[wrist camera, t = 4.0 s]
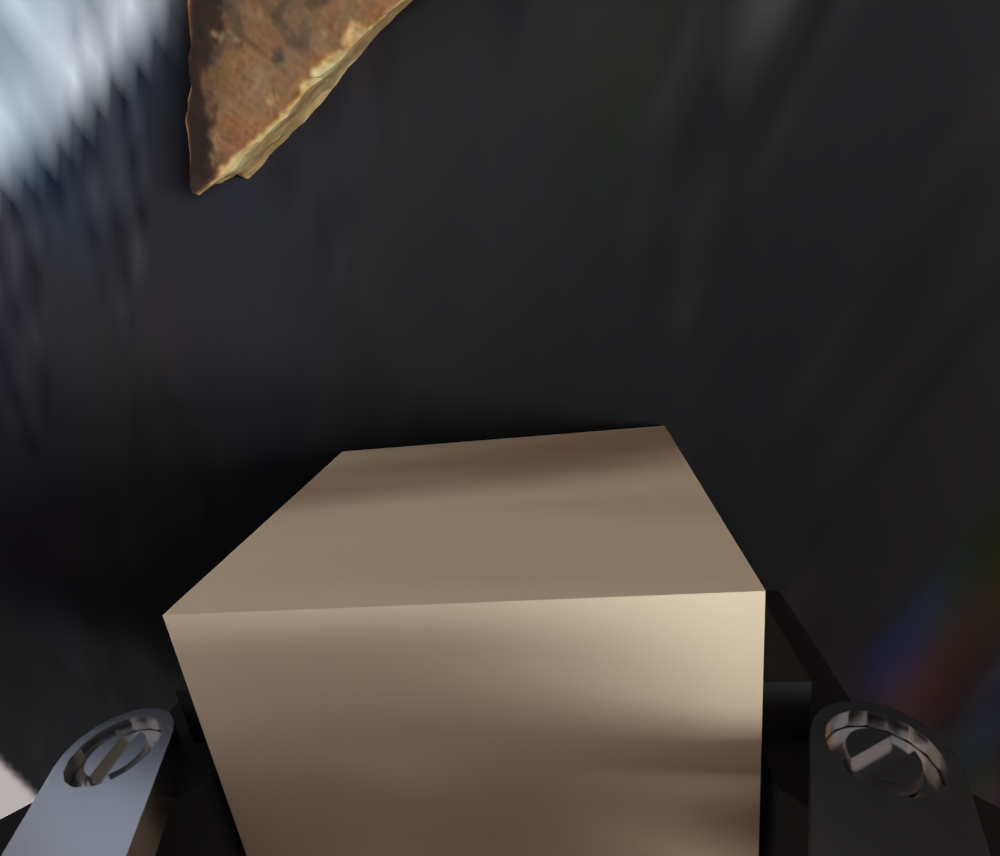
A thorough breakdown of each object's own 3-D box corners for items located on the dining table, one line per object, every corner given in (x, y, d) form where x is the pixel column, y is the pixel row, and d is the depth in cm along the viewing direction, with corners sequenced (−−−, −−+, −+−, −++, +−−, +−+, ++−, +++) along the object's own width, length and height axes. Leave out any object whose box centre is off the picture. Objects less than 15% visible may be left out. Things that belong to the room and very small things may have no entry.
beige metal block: (342, 451, 10) (163, 614, 6) (663, 425, 10) (765, 591, 5) (396, 703, 12) (293, 988, 7) (672, 698, 11) (754, 1015, 7)
